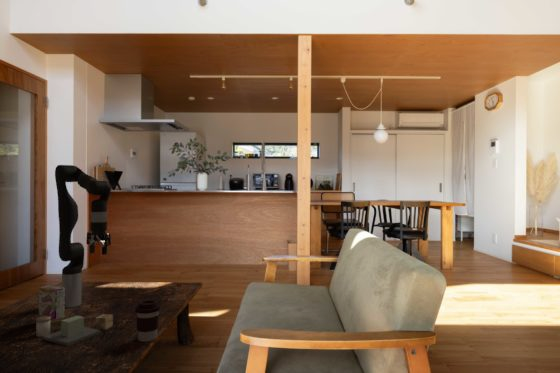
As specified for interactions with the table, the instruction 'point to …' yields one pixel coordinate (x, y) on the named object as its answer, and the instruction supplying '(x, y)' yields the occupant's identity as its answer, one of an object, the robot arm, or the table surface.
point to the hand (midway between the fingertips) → (98, 253)
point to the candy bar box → (52, 302)
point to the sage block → (72, 326)
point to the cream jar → (43, 326)
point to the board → (72, 339)
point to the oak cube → (104, 321)
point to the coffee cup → (147, 320)
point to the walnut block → (56, 324)
